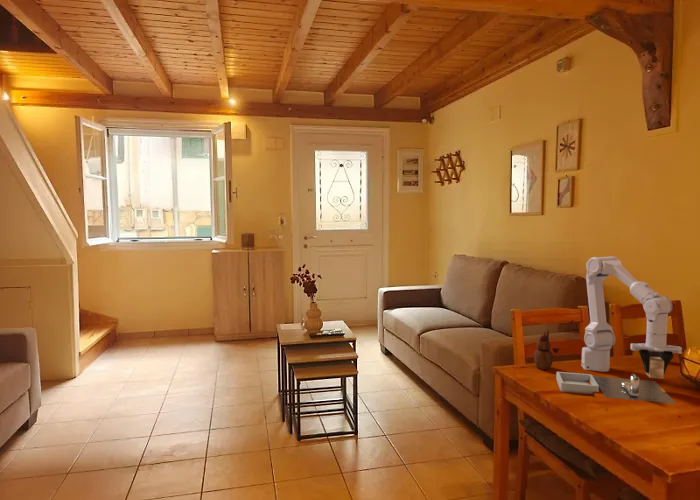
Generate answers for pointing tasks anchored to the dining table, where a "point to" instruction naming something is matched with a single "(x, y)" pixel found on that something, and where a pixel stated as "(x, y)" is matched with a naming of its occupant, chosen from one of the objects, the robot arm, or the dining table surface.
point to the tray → (576, 383)
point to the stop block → (656, 368)
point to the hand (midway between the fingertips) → (654, 372)
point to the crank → (632, 385)
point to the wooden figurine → (543, 353)
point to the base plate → (615, 390)
